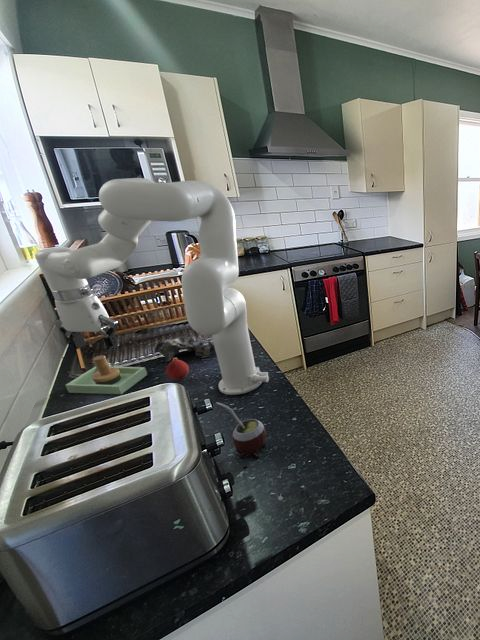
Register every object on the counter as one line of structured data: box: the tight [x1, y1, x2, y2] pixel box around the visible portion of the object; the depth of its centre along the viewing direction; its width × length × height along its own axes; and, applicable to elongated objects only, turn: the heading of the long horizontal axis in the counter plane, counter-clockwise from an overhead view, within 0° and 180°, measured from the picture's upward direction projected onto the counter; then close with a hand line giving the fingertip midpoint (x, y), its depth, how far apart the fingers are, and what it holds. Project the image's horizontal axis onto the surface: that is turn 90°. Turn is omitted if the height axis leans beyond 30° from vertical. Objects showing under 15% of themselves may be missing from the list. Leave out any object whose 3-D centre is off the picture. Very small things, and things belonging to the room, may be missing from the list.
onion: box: [165, 357, 190, 381], centre depth 109 cm, size 6×6×8 cm
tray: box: [64, 365, 148, 395], centre depth 107 cm, size 16×11×3 cm
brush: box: [92, 355, 121, 385], centre depth 106 cm, size 6×6×8 cm
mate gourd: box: [215, 401, 267, 460], centre depth 82 cm, size 8×8×15 cm
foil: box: [154, 335, 214, 363], centre depth 123 cm, size 12×11×15 cm
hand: (97, 347), depth 102 cm, fingers open, 9 cm apart
